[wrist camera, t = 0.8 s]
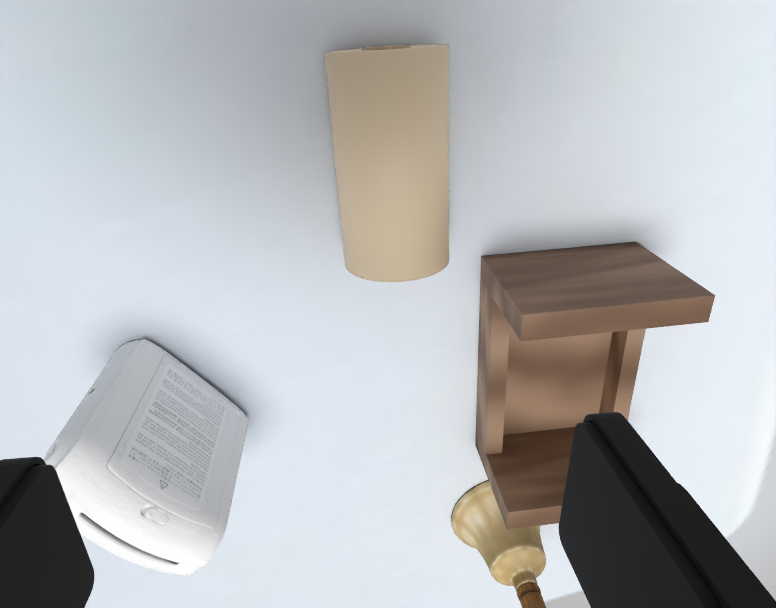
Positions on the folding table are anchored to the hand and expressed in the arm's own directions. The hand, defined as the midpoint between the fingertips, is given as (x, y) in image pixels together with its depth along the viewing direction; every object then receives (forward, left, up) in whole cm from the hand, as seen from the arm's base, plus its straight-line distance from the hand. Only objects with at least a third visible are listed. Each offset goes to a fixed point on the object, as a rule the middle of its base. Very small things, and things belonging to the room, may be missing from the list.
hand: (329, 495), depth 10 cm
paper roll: (-1, +4, -24) cm, 24 cm away
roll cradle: (+14, +15, -24) cm, 31 cm away
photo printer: (+14, -11, -24) cm, 30 cm away
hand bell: (+30, +12, -24) cm, 40 cm away
